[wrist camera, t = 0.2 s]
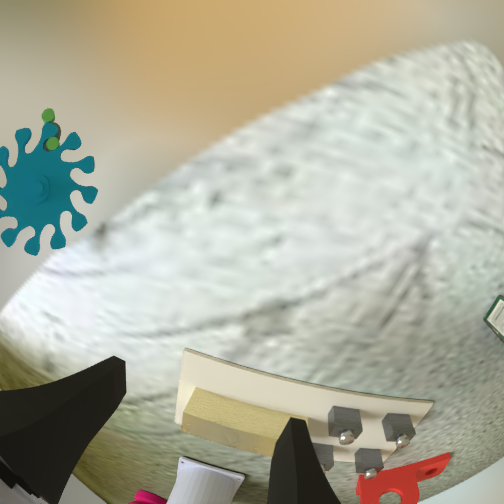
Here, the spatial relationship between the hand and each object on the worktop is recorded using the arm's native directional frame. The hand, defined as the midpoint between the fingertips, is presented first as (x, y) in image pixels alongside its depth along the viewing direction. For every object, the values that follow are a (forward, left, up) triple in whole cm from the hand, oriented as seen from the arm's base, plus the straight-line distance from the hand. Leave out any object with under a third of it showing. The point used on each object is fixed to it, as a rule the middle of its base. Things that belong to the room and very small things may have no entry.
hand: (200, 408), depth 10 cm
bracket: (-18, -25, -10) cm, 32 cm away
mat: (-10, -8, -10) cm, 16 cm away
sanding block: (-10, -3, -9) cm, 14 cm away
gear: (+6, +17, -10) cm, 20 cm away
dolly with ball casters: (-10, -13, -10) cm, 19 cm away
